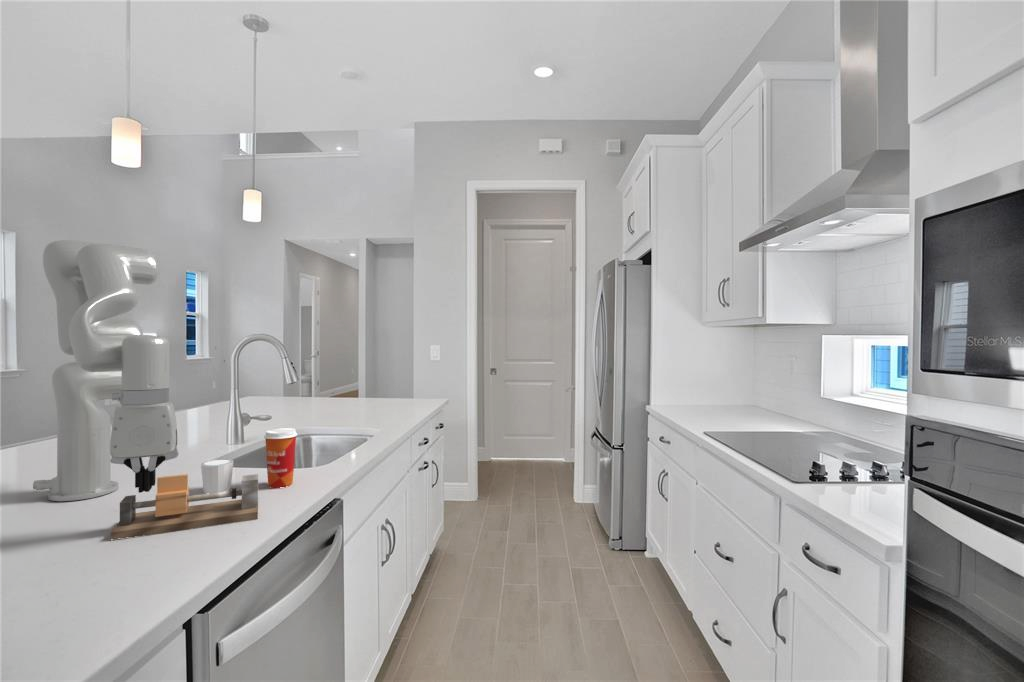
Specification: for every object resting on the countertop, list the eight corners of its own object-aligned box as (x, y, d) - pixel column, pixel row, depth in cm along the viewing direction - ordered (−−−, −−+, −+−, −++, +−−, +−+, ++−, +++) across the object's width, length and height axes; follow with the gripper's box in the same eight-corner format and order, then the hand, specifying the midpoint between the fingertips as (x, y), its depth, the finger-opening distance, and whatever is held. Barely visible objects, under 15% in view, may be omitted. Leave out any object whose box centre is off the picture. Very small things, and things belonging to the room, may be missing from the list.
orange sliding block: (155, 516, 93) (155, 480, 93) (159, 509, 97) (159, 474, 97) (186, 512, 96) (186, 477, 96) (188, 506, 100) (189, 471, 99)
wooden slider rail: (110, 540, 88) (110, 500, 88) (124, 521, 97) (124, 485, 97) (257, 518, 99) (257, 483, 99) (258, 503, 108) (258, 471, 108)
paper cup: (256, 487, 120) (257, 431, 120) (281, 479, 127) (282, 426, 127) (279, 491, 117) (280, 434, 117) (304, 482, 124) (304, 429, 124)
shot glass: (218, 496, 113) (218, 466, 113) (193, 493, 114) (193, 464, 114) (240, 487, 120) (240, 459, 120) (216, 485, 121) (216, 457, 121)
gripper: (90, 402, 87) (90, 501, 88) (188, 398, 94) (187, 490, 94) (103, 397, 94) (103, 490, 94) (193, 394, 101) (193, 480, 101)
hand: (145, 490), depth 94 cm, fingers closed
